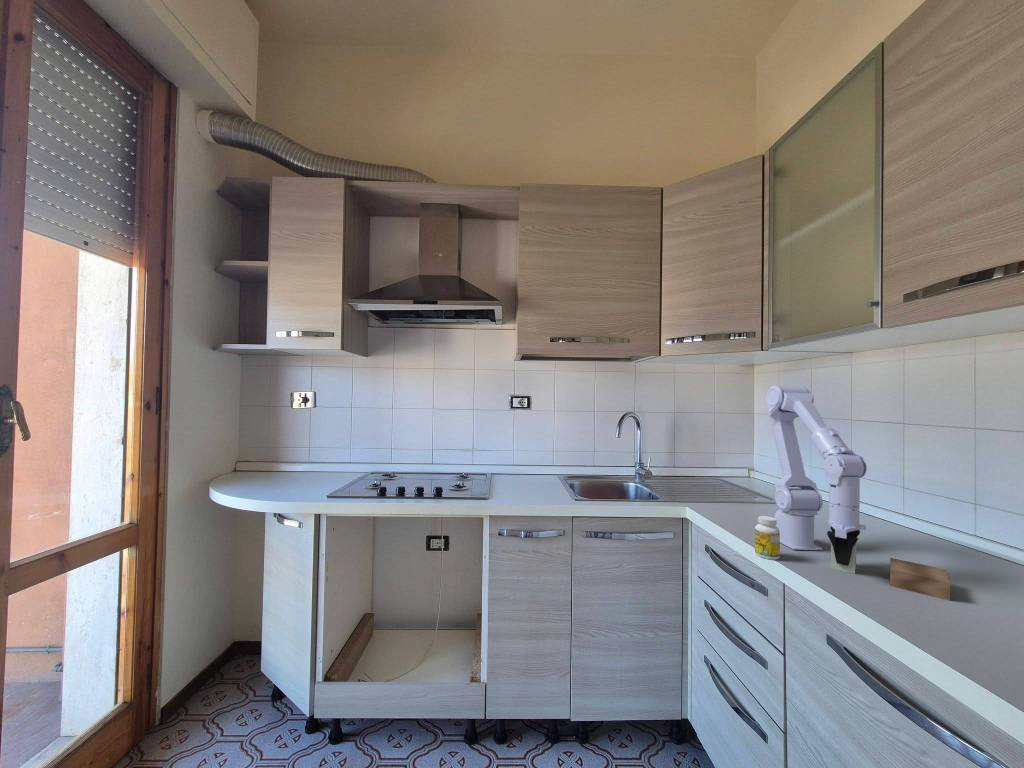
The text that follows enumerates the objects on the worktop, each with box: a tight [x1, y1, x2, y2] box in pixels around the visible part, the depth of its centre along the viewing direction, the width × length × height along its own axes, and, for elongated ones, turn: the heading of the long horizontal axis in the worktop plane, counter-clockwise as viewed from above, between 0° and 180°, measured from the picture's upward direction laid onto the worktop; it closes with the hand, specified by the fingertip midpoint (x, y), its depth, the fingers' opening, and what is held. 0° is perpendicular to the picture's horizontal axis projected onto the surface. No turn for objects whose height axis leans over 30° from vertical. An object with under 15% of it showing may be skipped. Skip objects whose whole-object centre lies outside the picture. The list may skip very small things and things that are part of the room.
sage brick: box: [830, 542, 857, 575], centre depth 99 cm, size 4×4×6 cm
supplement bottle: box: [754, 515, 781, 561], centre depth 105 cm, size 5×5×10 cm
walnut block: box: [889, 557, 951, 602], centre depth 90 cm, size 9×9×4 cm
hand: (843, 561), depth 99 cm, fingers closed on sage brick, 4 cm apart
